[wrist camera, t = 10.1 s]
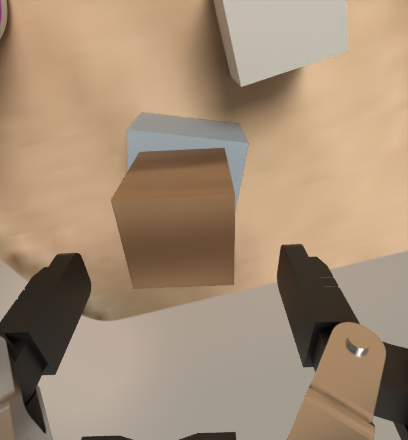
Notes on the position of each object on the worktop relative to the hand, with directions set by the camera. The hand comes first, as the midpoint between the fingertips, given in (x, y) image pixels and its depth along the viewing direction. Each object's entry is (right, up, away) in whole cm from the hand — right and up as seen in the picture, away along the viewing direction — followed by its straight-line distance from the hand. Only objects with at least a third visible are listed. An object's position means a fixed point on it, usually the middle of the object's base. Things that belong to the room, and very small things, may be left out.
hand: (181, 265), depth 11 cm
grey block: (+4, +14, +6) cm, 16 cm away
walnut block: (0, +4, +6) cm, 7 cm away
